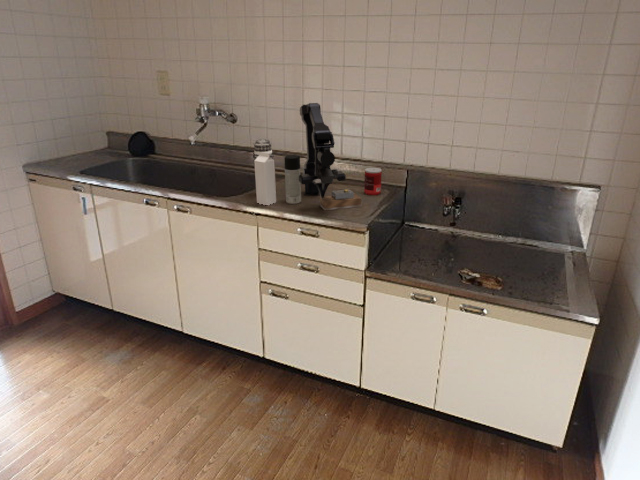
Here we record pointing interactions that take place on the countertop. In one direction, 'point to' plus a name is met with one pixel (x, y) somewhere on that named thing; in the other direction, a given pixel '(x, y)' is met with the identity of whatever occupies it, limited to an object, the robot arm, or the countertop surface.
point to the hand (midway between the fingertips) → (322, 197)
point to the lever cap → (342, 194)
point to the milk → (265, 179)
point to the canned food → (372, 181)
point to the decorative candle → (262, 148)
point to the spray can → (292, 179)
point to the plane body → (339, 202)
